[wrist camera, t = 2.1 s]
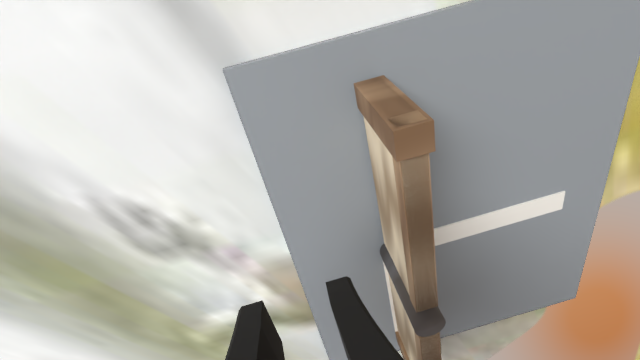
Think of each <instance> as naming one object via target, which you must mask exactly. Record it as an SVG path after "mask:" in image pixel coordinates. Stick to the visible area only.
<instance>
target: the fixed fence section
mask: <svg viewBox="0 0 640 360" xmlns="http://www.w3.org/2000/svg"><path fill="white" fill-rule="evenodd" d="M380 255H381V257H382V260H383V262H384V264H385V266H386V269H387V271H388V275H389V281H390V287H391V293H392V299H393V305H394V311H395V317H396V323H397V329H398V331H396V332H395V334H396V340H397V342H398V345H399V348H400V350H401V353H402V355H403V358H404V360H441V343H440V331H441V330H442V329H443V328H444V326H445V324H446V320H445V318H444V317H443V315H442V313H441V311H440V309H439V307H438V306H437V307H434V308H430V309H427V310H424V311H420V312H417V313H416V311H415V309H414V306H413V304H412V302H411V300H410V296H409V294H408V292H407V289H406V287H405V285H404V283H403V281H402V279H401V277H400V275H399V273H398V271H397V269H396V267H395V264H394V262H393V260H392V258H391V256H390V254H389V252H388V250H387V248H386V246H385V244H383V245H382V246H381V248H380Z"/></svg>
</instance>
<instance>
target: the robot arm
mask: <svg viewBox="0 0 640 360" xmlns="http://www.w3.org/2000/svg"><path fill="white" fill-rule="evenodd" d="M325 283H326V287H327V292H328V296H329V301H330V305H331V308H332V311H333V314H334V318H335V321H336V324H337V327H338V330H339V333H340V336H341V340H342V343H343V346H344V349H345V352H346V355H347V359H348V360H404V359H403V358H402V357H401V355H400V354H399V353H398V352H397V350H396V349H395V348H394V347H393V345H392V344H391V343H390V341H389V340H388V339H387V337H386V336H385V335H384V333H383V332H382V330H381V329H380V328H379V326H378V325H377V324H376V322H375V321H374V319H373V318H372V316H371V315H370V313H369V312H368V310H367V308H366V307H365V305H364V304H363V302H362V300H361V299H360V297H359V295H358V293H357V291H356V289H355V287H354V285H353V283H352V281H351V278H349V277H347V276H345V277H342V278H338V279H335V280H331V281H328V282H325ZM225 360H285V358H284V352H283V346H282V341H281V339H280V337H279V335H278V333H277V330H276V328H275V326H274V324H273V322H272V320H271V318H270V316H269V314H268V312H267V310H266V307H265V305H264V303H263V301H259V302H256V303H253V304H249V305H246V306H242V307H241V308H240V310H239V313H238V317H237V321H236V324H235V328H234V332H233V335H232V339H231V342H230V346H229V349H228V352H227V355H226V359H225Z"/></svg>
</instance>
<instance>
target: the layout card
mask: <svg viewBox="0 0 640 360" xmlns="http://www.w3.org/2000/svg"><path fill="white" fill-rule="evenodd" d="M639 56H640V0H472V1H468V2H465V3H461V4H457V5H454V6H450V7H446V8H443V9H439V10H435V11H432V12H428V13H424V14H421V15H417V16H413V17H410V18H406V19H402V20H399V21H395V22H391V23H388V24H384V25H380V26H377V27H373V28H370V29H366V30H362V31H359V32H355V33H351V34H348V35H344V36H340V37H337V38H333V39H329V40H326V41H322V42H318V43H315V44H311V45H307V46H304V47H300V48H296V49H293V50H289V51H285V52H282V53H278V54H274V55H271V56H267V57H263V58H260V59H256V60H252V61H249V62H245V63H241V64H238V65H234V66H230V67H227V68H223V73H224V75H225V78H226V81H227V83H228V86H229V89H230V92H231V94H232V97H233V100H234V102H235V105H236V108H237V111H238V113H239V116H240V119H241V121H242V124H243V127H244V129H245V132H246V135H247V138H248V140H249V143H250V146H251V148H252V151H253V154H254V157H255V159H256V162H257V165H258V167H259V170H260V173H261V176H262V178H263V181H264V184H265V186H266V189H267V192H268V195H269V197H270V200H271V203H272V205H273V208H274V211H275V213H276V216H277V219H278V222H279V224H280V227H281V230H282V232H283V235H284V238H285V241H286V243H287V246H288V249H289V251H290V254H291V257H292V260H293V262H294V265H295V268H296V270H297V273H298V276H299V279H300V281H301V284H302V287H303V289H304V292H305V295H306V298H307V300H308V303H309V306H310V308H311V311H312V314H313V316H314V319H315V322H316V325H317V327H318V330H319V333H320V335H321V338H322V341H323V344H324V346H325V349H326V352H327V354H328V357H329V360H348V359H347V355H346V352H345V349H344V346H343V343H342V340H341V336H340V333H339V330H338V327H337V324H336V321H335V318H334V314H333V311H332V308H331V305H330V301H329V296H328V292H327V287H326V283H325V282H328V281H331V280H335V279H338V278H342V277H345V276H347V277H349V278H351V281H352V283H353V285H354V287H355V289H356V291H357V293H358V295H359V297H360V299H361V300H362V302H363V304H364V305H365V307H366V308H367V310H368V312H369V313H370V315H371V316H372V318H373V319H374V321H375V322H376V324H377V325H378V326H379V328H380V329H381V330H382V332H383V333H384V335H385V336H386V337H387V339H388V340H389V341H390V343H391V344H392V345H393V347H394V348H395V349H396V350H397V351H399V350H400V348H399V345H398V342H397V340H396V334H395V332H396V331H398V329H397V323H396V317H395V311H394V305H393V299H392V293H391V287H390V281H389V275H388V271H387V269H386V266H385V264H384V262H383V260H382V257H381V255H380V248H381V246H382V245H383V244H384V238H383V232H382V226H381V220H380V214H379V208H378V202H377V196H376V190H375V184H374V178H373V171H372V165H371V159H370V153H369V147H368V141H367V135H366V129H365V123H364V117H363V115H362V113H361V112H360V111H359V109H358V107H357V101H356V95H355V89H354V83H357V82H360V81H364V80H367V79H371V78H375V77H378V76H382V75H384V76H385V77H386V78H388V79H389V80H390V81H391V82H392V83H393V84H394V85H395V86H397V87H398V88H399V89H400V90H401V91H402V92H403V93H404V94H405V95H407V96H408V97H409V98H410V99H411V100H412V101H413V102H414V103H416V104H417V105H418V106H419V107H420V108H421V109H422V110H423V111H425V112H426V113H427V114H428V115H429V116H430V117H431V118H432V119H433V120H434V129H435V150H436V151H435V152H431V153H429V158H430V175H431V192H432V209H433V226H434V242H435V259H436V276H437V293H438V307H439V309H440V311H441V313H442V315H443V317H444V318H445V320H446V324H445V326H444V328H443V329H442V330H441V331H440V338H443V337H446V336H450V335H453V334H456V333H460V332H463V331H466V330H470V329H473V328H476V327H480V326H483V325H486V324H490V323H493V322H496V321H500V320H503V319H506V318H510V317H513V316H516V315H520V314H523V313H526V312H530V311H533V310H537V309H540V308H543V307H547V306H550V305H553V304H557V303H560V302H563V301H566V300H570V299H573V298H575V297H576V294H577V290H578V286H579V282H580V278H581V275H582V271H583V267H584V263H585V259H586V256H587V251H588V248H589V244H590V241H591V237H592V233H593V229H594V226H595V222H596V218H597V214H598V211H599V207H600V203H601V199H602V195H603V192H604V188H605V184H606V180H607V177H608V173H609V169H610V165H611V161H612V158H613V154H614V150H615V146H616V143H617V139H618V135H619V131H620V127H621V124H622V120H623V116H624V112H625V109H626V105H627V101H628V97H629V93H630V90H631V86H632V82H633V78H634V75H635V71H636V67H637V63H638V60H639Z"/></svg>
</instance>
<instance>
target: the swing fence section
mask: <svg viewBox="0 0 640 360" xmlns="http://www.w3.org/2000/svg"><path fill="white" fill-rule="evenodd" d="M354 89H355V95H356V101H357V107H358V109H359V111H360V112H361V113H362V115H363V117H364V123H365V129H366V135H367V141H368V147H369V153H370V159H371V165H372V171H373V178H374V184H375V190H376V196H377V202H378V208H379V214H380V220H381V226H382V232H383V238H384V244H385V246H386V248H387V250H388V252H389V254H390V256H391V258H392V260H393V262H394V264H395V267H396V269H397V271H398V273H399V275H400V277H401V279H402V281H403V283H404V285H405V287H406V289H407V292H408V294H409V296H410V300H411V302H412V304H413V306H414V309H415V311H416V313H417V312H420V311H424V310H427V309H430V308H434V307H437V306H438V293H437V276H436V259H435V242H434V226H433V209H432V192H431V175H430V158H429V153H431V152H435V151H436V150H435V129H434V120H433V119H432V118H431V117H430V116H429V115H428V114H427V113H426V112H425V111H423V110H422V109H421V108H420V107H419V106H418V105H417V104H416V103H414V102H413V101H412V100H411V99H410V98H409V97H408V96H407V95H405V94H404V93H403V92H402V91H401V90H400V89H399V88H398V87H397V86H395V85H394V84H393V83H392V82H391V81H390V80H389V79H388V78H386V77H385V76H384V75H382V76H378V77H375V78H371V79H367V80H364V81H360V82H357V83H354Z"/></svg>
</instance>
